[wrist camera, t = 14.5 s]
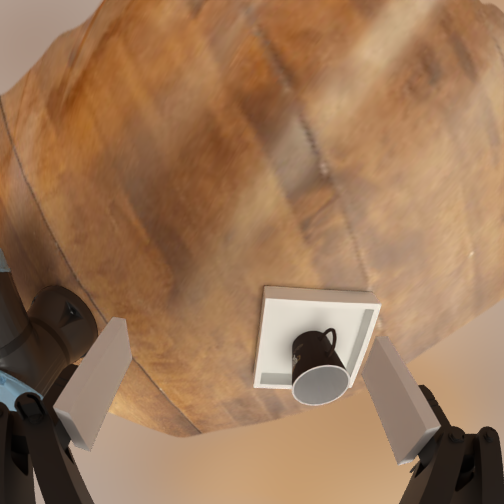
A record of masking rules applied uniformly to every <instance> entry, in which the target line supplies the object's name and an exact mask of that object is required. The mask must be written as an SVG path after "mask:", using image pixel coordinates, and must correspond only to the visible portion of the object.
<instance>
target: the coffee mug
mask: <svg viewBox="0 0 504 504" xmlns="http://www.w3.org/2000/svg"><path fill="white" fill-rule="evenodd" d="M329 332H332V335H333V341H332V345H331V343H330V341H329V339H328V338H327V336H326V335H327V334H328V333H329ZM336 340H337V335H336V331H335V329H334V328H329V329H327V330H325V331H324V333H322V332H319V331H307V332H304V333H302V334H300V335H299V336H298V337H297V338H296V339H295V340H294V342H293V344H292V394H293V397H294V398H295V399H296V400H297V401H298V402H300V403H302V404H306V405H312V406H314V405H323V404H327V403H330V402H332V401H334V400H336V399H338V398H339V397H340V396H342V395H343V394H344V393H345V392H346V390H347V389H348V387H349V384H350V375H349V374H348V372H347V370H346V368H345V367H344V365H343V363H342V361H341V360H340V358H339V356H338V355H337V353H336V351H335V346H336Z"/></svg>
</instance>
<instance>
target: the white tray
mask: <svg viewBox="0 0 504 504" xmlns="http://www.w3.org/2000/svg"><path fill="white" fill-rule="evenodd" d="M380 307H381V302H380V301H379V300H378V298H377V297H376V296H375V295H374V293H373V292H360V291H340V290H323V289H306V288H291V287H277V286H264V293H263V301H262V309H261V317H260V325H259V333H258V341H257V349H256V356H255V364H254V371H253V384H254V388H275V389H292V344H293V342H294V340H295V339H296V338H297V337H298V336H299V335H300V334H302V333H304V332H307V331H319V332H322V333H324V331H325V330H327V329H329V328H334V329H335V331H336V335H337V340H336V346H335V351H336V353H337V355H338V356H339V358H340V360H341V361H342V363H343V365H344V367H345V368H346V370H347V372H348V374H349V375H350V384H349V387H348V388H351V387H352V385H353V383H354V380H355V378H356V375H357V373H358V370H359V368H360V365H361V362H362V360H363V357H364V354H365V352H366V349H367V346H368V344H369V341H370V338H371V335H372V332H373V329H374V326H375V323H376V320H377V317H378V314H379V311H380ZM326 336H327V338H328V339H329V341H330V343H331V345H332V341H333V335H332V332H329V333H328V334H327V335H326Z"/></svg>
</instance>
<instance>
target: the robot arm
mask: <svg viewBox="0 0 504 504" xmlns="http://www.w3.org/2000/svg"><path fill="white" fill-rule="evenodd" d="M97 337H98V332H97V326H96V323H95V320H94V318H93V316H92V314H91V312H90V310H89V309H88V308H87V306H86V305H85V304H84V303H83V301H82V300H81V299H80V298H79V297H77V296H76V295H75V294H74V293H72V292H71V291H69V290H67V289H65V288H63V287H59V286H48V287H46V288H44V289H43V290H41V291H40V292H39V293H38V294H37V295H36V296H35V298H34V299H33V301H32V304H31V308H30V309H29V311H28V312H26V310H25V308H24V306H23V303H22V301H21V298H20V296H19V293H18V291H17V288H16V285H15V282H14V280H13V277H12V274H11V269H10V268H9V266H8V264H7V261H6V259H5V256H4V253H3V251H2V249H1V248H0V504H36V502H35V492H34V479H33V468H34V471H35V474H36V478H37V481H38V484H39V487H40V490H41V493H42V495H43V498H44V501H45V504H94V502H93V500H92V498H91V496H90V494H89V492H88V490H87V488H86V486H85V483H84V481H83V479H82V477H81V475H80V472H79V470H78V468H77V465H76V463H75V460H74V458H73V455H72V453H71V450H70V448H69V447H68V445H69V442H70V440H72V442H73V443H74V445H75V446H76V447H79V448H82V449H84V450H87V451H91V449H92V446H93V444H94V442H95V439H96V437H97V435H98V432H99V430H100V428H101V425H102V423H103V421H104V418H105V416H106V414H107V412H108V410H109V407H110V405H111V403H112V401H113V399H114V396H115V394H116V392H117V390H118V388H119V386H120V384H121V381H122V379H123V377H124V375H125V373H126V371H127V369H128V367H129V365H130V363H131V361H132V355H131V349H130V344H129V338H128V331H127V325H126V319H123V318H117V317H112V318H111V320H110V321H109V323H108V324H107V325H106V327H105V328H104V330H103V331H102V332H101V334H100V335H99V337H98V338H97ZM84 356H85V357H84ZM82 357H84V359H83V360H82V362H81V363H80V365H79V366H78V365H74V364H73V363H74V362H76V361H77V360H79V359H80V358H82ZM362 377H363V379H364V381H365V384H366V386H367V388H368V391H369V393H370V396H371V398H372V400H373V403H374V405H375V407H376V410H377V413H378V415H379V417H380V420H381V422H382V425H383V427H384V430H385V432H386V435H387V438H388V440H389V443H390V445H391V447H392V451H393V453H394V456H395V458H396V461H397V464H398V465H401V464H405V463H409V462H412V461H413V460H414V459H415V457H416V456H417V455H418V456H419V458H420V461H419V462H418V463H417V464H416V465H415V466H414V467H413V468H412V469H411V471H410V473H412V472H413V471H414V473H413V475H412V477H411V480H410V482H409V484H408V486H407V488H406V490H405V492H404V495H403V497H402V499H401V501H400V503H399V504H504V477H503V476H504V474H503V464H502V455H501V447H500V441H499V436H498V433H497V432H496V430H495V429H493V428H492V427H483V428H481V430H480V431H479V432H478V433H477V434H465V432H464V431H463V430H462V429H460V428H458V427H455V426H451V425H450V423H449V421H448V419H447V418H446V416H445V414H444V413H443V411H442V409H441V407H440V406H439V405H438V402H437V401H436V400H435V397H434V396H433V394H432V392H431V391H430V390H429V389H428V388H427V387H426V386H424V385H417V383H416V381H415V380H414V378H413V376H412V375H411V373H410V371H409V370H408V368H407V366H406V365H405V363H404V361H403V360H402V358H401V357H400V355H399V353H398V352H397V350H396V349H395V347H394V345H393V344H392V342H391V341H390V339H389V338H388V336H381V337H375V340H374V343H373V346H372V348H371V351H370V354H369V356H368V359H367V361H366V364H365V367H364V369H363V372H362ZM414 469H415V470H414Z"/></svg>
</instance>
